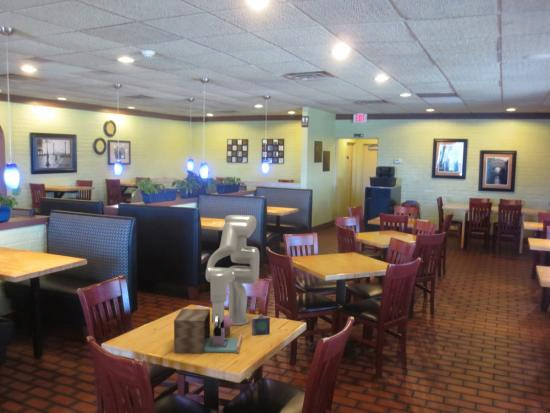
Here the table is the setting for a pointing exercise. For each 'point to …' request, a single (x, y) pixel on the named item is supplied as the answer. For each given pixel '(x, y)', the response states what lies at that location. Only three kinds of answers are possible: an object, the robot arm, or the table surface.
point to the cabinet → (191, 330)
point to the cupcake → (227, 324)
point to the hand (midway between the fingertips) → (219, 331)
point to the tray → (228, 346)
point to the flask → (260, 325)
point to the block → (219, 338)
